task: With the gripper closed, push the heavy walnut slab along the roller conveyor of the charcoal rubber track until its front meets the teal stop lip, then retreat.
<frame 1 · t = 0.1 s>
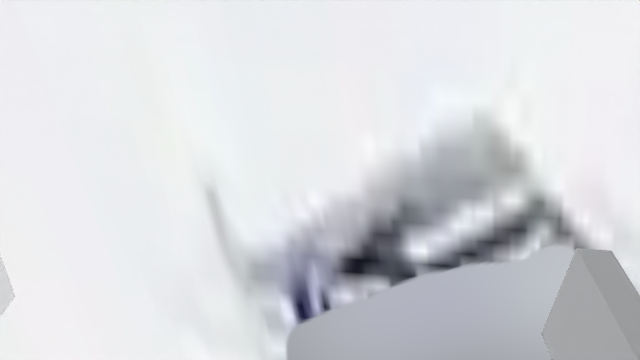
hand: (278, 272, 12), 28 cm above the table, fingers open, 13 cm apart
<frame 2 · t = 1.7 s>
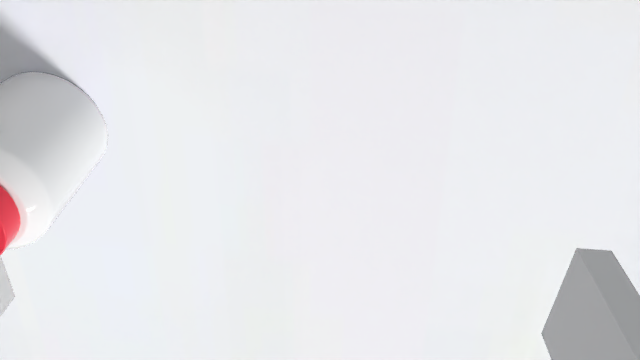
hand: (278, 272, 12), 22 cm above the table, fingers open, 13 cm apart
pill bottle: (52, 123, 37), on the table
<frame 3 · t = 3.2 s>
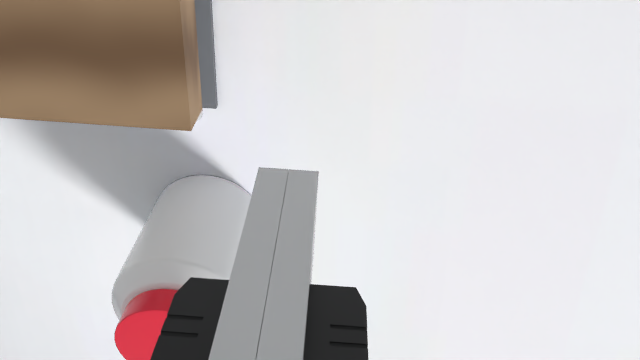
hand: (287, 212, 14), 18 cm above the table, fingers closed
pill bottle: (210, 218, 38), on the table
slab: (44, 25, 26), point 5 cm above the table, slide at 0.0 cm
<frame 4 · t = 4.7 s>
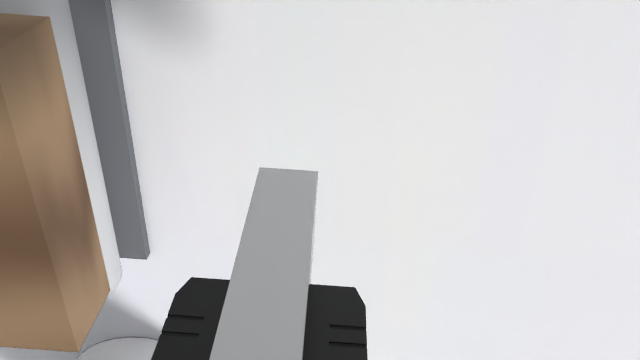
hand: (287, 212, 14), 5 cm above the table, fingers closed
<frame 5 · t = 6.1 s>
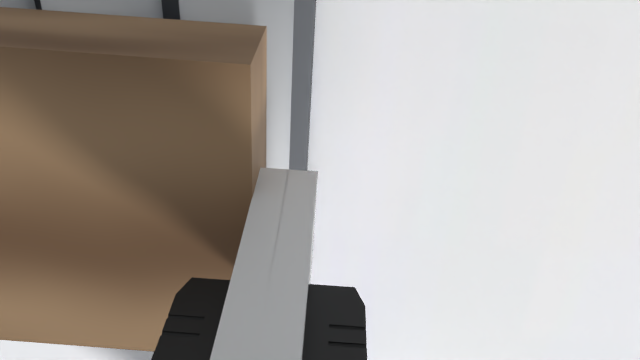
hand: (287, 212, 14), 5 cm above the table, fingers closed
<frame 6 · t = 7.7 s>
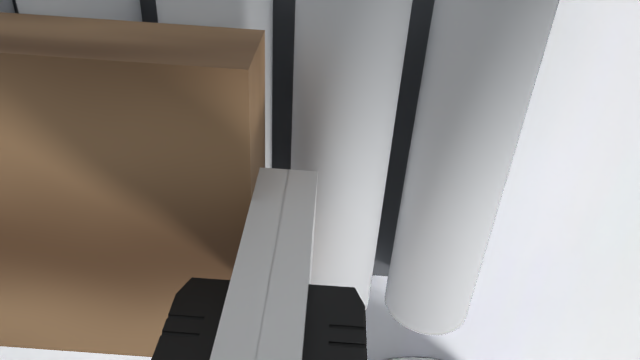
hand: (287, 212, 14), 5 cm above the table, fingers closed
track: (122, 117, 18), on the table
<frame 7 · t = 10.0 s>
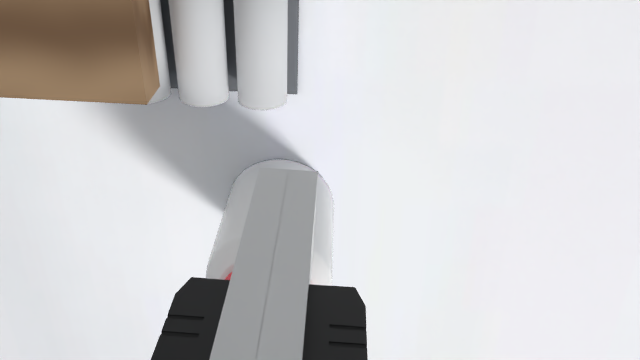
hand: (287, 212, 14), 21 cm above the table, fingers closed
pill bottle: (282, 202, 40), on the table
slab: (6, 7, 27), point 5 cm above the table, slide at 7.7 cm
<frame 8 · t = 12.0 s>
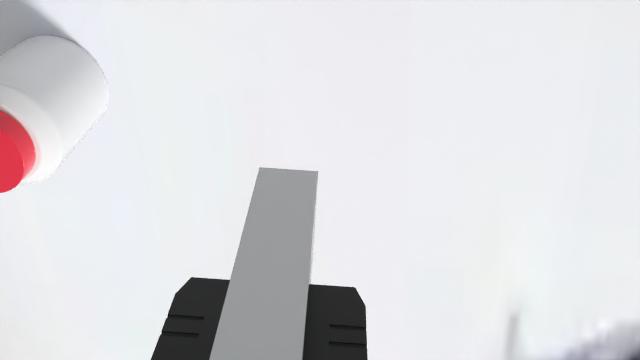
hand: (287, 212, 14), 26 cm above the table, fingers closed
pill bottle: (60, 82, 42), on the table
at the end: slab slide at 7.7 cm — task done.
